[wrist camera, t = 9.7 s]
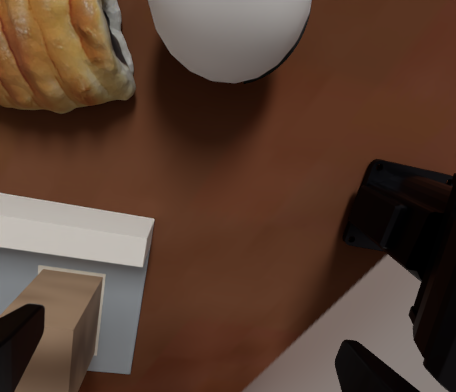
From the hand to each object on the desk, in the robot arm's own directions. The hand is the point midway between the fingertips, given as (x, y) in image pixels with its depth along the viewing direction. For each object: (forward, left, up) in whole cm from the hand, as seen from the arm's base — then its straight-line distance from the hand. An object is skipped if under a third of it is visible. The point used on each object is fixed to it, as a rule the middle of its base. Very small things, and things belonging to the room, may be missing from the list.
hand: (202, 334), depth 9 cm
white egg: (0, -12, -12) cm, 17 cm away
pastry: (+10, -7, -12) cm, 17 cm away
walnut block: (+8, +10, -12) cm, 17 cm away
